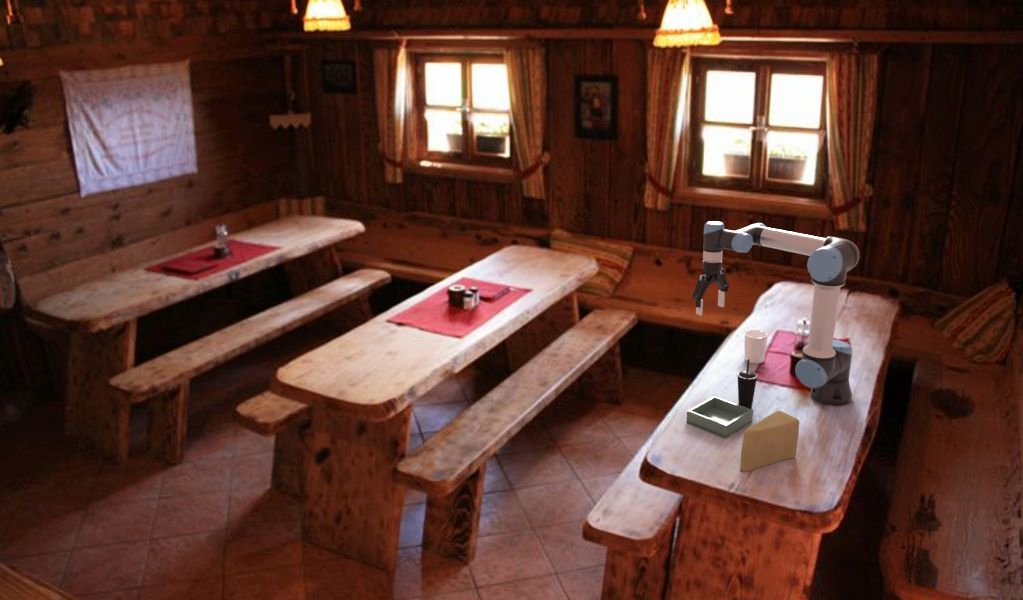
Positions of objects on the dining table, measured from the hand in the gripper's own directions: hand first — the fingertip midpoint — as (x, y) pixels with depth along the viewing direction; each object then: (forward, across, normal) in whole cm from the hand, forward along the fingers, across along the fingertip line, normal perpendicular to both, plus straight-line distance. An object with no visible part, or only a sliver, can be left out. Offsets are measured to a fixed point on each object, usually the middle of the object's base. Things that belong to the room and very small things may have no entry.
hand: (710, 310), depth 358 cm
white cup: (+28, -26, +4) cm, 38 cm away
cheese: (+28, +42, +59) cm, 78 cm away
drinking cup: (+28, +14, +30) cm, 43 cm away
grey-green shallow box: (+28, +31, +31) cm, 52 cm away
